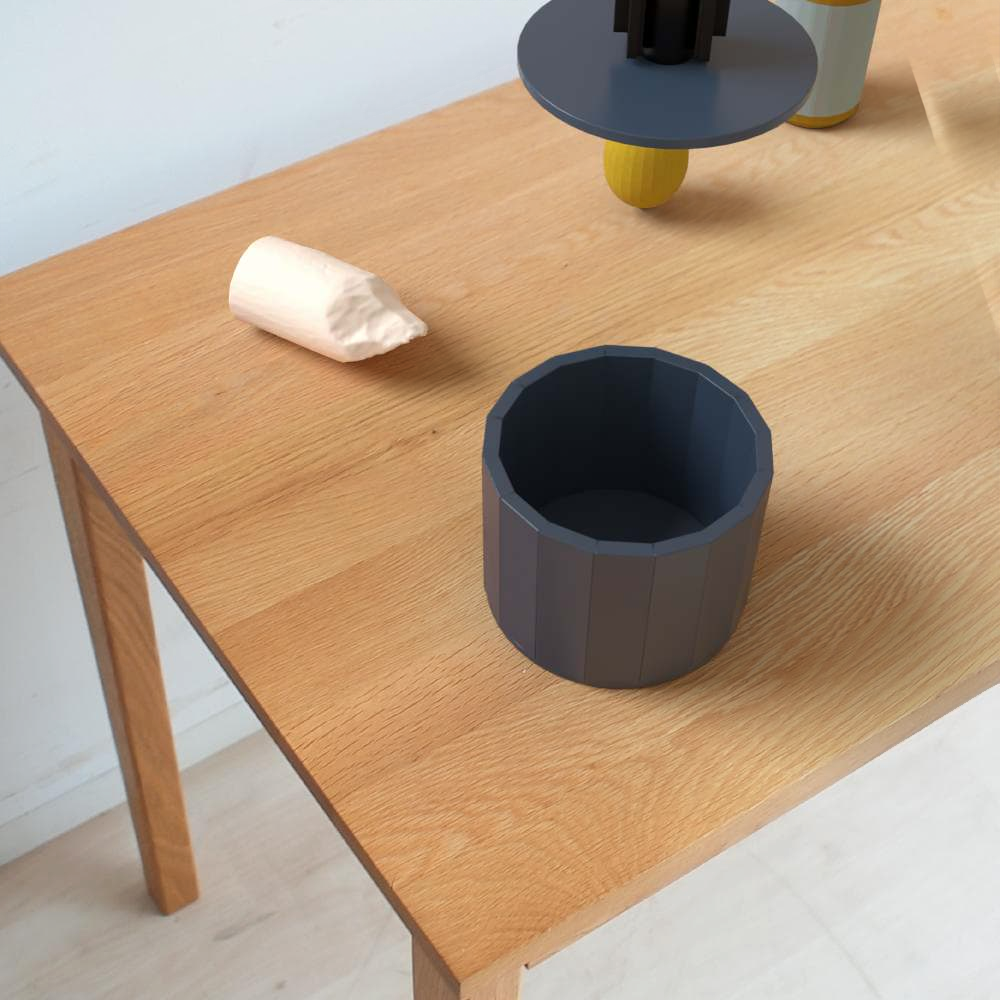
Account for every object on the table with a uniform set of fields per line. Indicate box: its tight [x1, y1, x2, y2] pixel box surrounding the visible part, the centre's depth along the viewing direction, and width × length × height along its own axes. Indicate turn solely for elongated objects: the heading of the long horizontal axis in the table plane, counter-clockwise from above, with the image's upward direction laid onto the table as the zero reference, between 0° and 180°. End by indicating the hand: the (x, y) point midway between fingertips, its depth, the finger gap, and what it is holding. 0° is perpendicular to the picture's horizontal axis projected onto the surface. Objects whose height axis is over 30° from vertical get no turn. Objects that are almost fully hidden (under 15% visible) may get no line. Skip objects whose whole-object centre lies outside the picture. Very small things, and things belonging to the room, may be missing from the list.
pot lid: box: [516, 0, 818, 150], centre depth 69 cm, size 15×15×6 cm
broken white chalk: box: [228, 235, 429, 363], centre depth 86 cm, size 6×12×6 cm, turn 59°
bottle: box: [774, 0, 883, 129], centre depth 99 cm, size 7×7×15 cm
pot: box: [481, 344, 775, 690], centre depth 72 cm, size 14×14×10 cm
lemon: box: [602, 139, 690, 210], centre depth 94 cm, size 6×6×8 cm
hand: (667, 41), depth 70 cm, fingers closed on pot lid, 2 cm apart
